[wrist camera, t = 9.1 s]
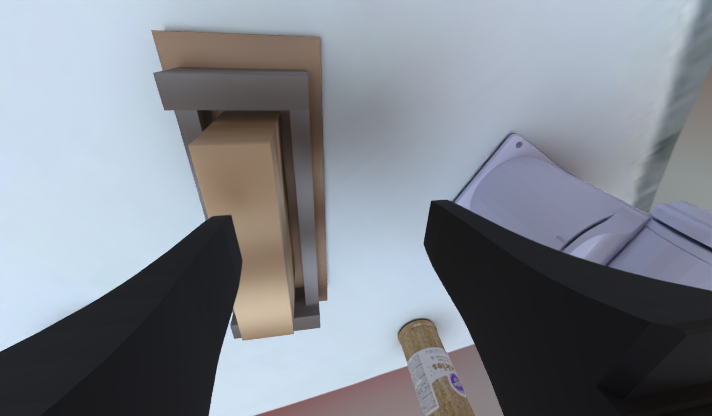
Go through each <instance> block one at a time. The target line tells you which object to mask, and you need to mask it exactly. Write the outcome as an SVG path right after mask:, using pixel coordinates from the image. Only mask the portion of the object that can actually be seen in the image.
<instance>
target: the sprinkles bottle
mask: <svg viewBox="0 0 712 416" xmlns="http://www.w3.org/2000/svg"><path fill="white" fill-rule="evenodd" d="M398 339H399V342H400V344H401V345H402V348H403V351H404V354H405V357H406V361H407V364H408V369H409V372H410V375H411V378H412V381H413V384H414V387H415V390H416V393H417V396H418V399H419V402H420V405H421V408H422V411H423V415H424V416H475V415H474V412H473V410H472V408H471V406H470V404H469V402H468V400H467V397H466V393H465V391H464V389H463V387H462V384H461V382H460V380H459V378H458V376H457V373H456V371H455V369H454V367H453V365H452V363H451V360H450V358H449V356H448V354H447V352H446V351H445V349H444V347H443V344H442V342H441V340H440V338H439V336H438V333H437V329H436V327H435V325H434V324H433V323H432V322H430V321H427V320H417V321H414V322H411V323H409V324H407V325H406V326H405V327H404V328H403V329H402V330H401V331H400V333H399V335H398Z"/></svg>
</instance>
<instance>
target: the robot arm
mask: <svg viewBox="0 0 712 416" xmlns="http://www.w3.org/2000/svg"><path fill="white" fill-rule="evenodd" d="M518 142H519V144H518V145H517V146H516V144H517V143H518ZM424 246H425V249H426V252H427V254H428V257H429V259H430V262H431V264H432V266H433V268H434V270H435V272H436V273H437V275H438V277H439V279H440V280H441V282H442V284H443V286H444V287H445V289H446V291H447V292H448V294H449V296H450V297H451V299H452V301H453V303H454V304H455V306H456V308H457V309H458V311H459V313H460V315H461V316H462V318H463V320H464V322H465V324H466V326H467V328H468V330H469V332H470V335H471V337H472V339H473V341H474V343H475V345H476V348H477V350H478V352H479V354H480V357H481V359H482V362H483V364H484V367H485V369H486V371H487V374H488V376H489V378H490V381H491V383H492V386H493V388H494V391H495V394H496V396H497V399H498V401H499V404H500V407H501V409H502V412H503V414H504V416H712V212H711V211H709V210H706V209H703V208H701V207H698V206H695V205H693V204H690V203H687V202H682V201H681V202H675V203H670V204H664V203H661V204H658V205H656V207H655V208H654V210H653V211H652V212H651V213H648V212H645V211H641V210H639V209H637V208H635V207H633V206H631V205H629V204H627V203H625V202H623V201H621V200H619V199H618V198H616V197H614V196H612V195H610V194H608V193H606V192H604V191H602V190H600V189H598V188H596V187H594V186H592V185H590V184H588V183H586V182H584V181H582V180H580V179H578V178H576V177H574V176H572V175H570V174H568V173H566V172H565V171H564V170H562V169H561V168H560V167H559V166H557V165H556V164H555V163H554V162H552V161H551V160H550V159H549V158H547V157H546V156H545V155H544V154H542V153H541V152H540V151H538V150H537V149H536V148H535V147H533V146H532V145H531V144H530V143H528V142H527V141H526V140H525V139H523V138H522V137H521V136H519V135H517V134H512V135H510V136H509V137H508V138H507V139H506V140H505V142H504V143H503V144H502V145H501V146H500V148H499V149H498V150H497V151H496V152H495V154H494V155H493V156H492V157H491V158H490V160H489V161H488V162H487V163H486V165H485V166H484V167H483V168H482V169H481V171H480V172H479V173H478V174H477V175H476V177H475V178H474V179H473V180H472V181H471V183H470V184H469V185H468V186H467V187H466V189H465V190H464V191H463V192H462V193H461V195H460V196H459V197H458V198H457V199H456V201H455V202H454V203H453V202H451V201H448V200H435V201H431V205H430V210H429V216H428V221H427V227H426V233H425V238H424ZM242 262H243V260H242V256H241V252H240V248H239V244H238V240H237V236H236V232H235V228H234V224H233V220H232V216H231V215H221V216H212V217H210V218H209V219H207V220H206V221H205V222H204V223H202V224H201V225H200V226H199V227H197V228H196V229H195V230H194V231H192V232H191V233H190V234H189V235H187V236H186V237H185V238H184V239H183V240H181V241H180V242H179V243H178V244H176V245H175V246H174V247H173V248H171V249H170V250H169V251H167V252H166V253H165V254H163V255H162V256H161V257H159V258H158V259H157V260H155V261H154V262H153V263H151V264H150V265H148V266H147V267H146V268H144V269H143V270H142V271H140V272H139V273H138V274H136V275H135V276H133V277H132V278H130V279H129V280H127V281H126V282H124V283H123V284H121V285H120V286H118V287H117V288H115V289H113V290H112V291H110V292H109V293H107V294H105V295H104V296H102V297H101V298H99V299H97V300H96V301H94V302H92V303H91V304H89V305H87V306H85V307H84V308H82V309H80V310H78V311H76V312H75V313H73V314H71V315H69V316H67V317H65V318H64V319H62V320H60V321H58V322H56V323H55V324H53V325H51V326H49V327H47V328H46V329H44V330H42V331H40V332H38V333H36V334H34V335H32V336H30V337H29V338H27V339H25V340H23V341H21V342H19V343H17V344H15V345H13V346H11V347H9V348H7V349H5V350H3V351H1V352H0V416H209V410H210V404H211V397H212V392H213V386H214V381H215V375H216V370H217V364H218V360H219V356H220V352H221V348H222V344H223V341H224V337H225V334H226V330H227V327H228V324H229V320H230V317H231V313H232V310H233V306H234V303H235V299H236V296H237V292H238V289H239V284H240V277H241V270H242Z"/></svg>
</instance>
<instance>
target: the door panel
mask: <svg viewBox="0 0 712 416" xmlns="http://www.w3.org/2000/svg"><path fill="white" fill-rule="evenodd" d="M188 147H189V151H190V154H191V158H192V162H193V165H194V169H195V172H196V176H197V179H198V183H199V187H200V190H201V194H202V197H203V201H204V204H205V208H206V212H207V215H208V219H209V218H210V217H212V216H221V215H231V216H232V220H233V224H234V228H235V232H236V236H237V240H238V244H239V248H240V252H241V256H242V260H243V262H242V270H241V277H240V284H239V289H238V292H237V296H236V299H235V303H234V306H233V308H234V312H235V315H236V319H237V322H238V326H239V330H240V333H241V337H242V340H251V339H259V338H266V337H274V336H282V335H290V334H294V293H295V262H294V252H293V243H292V233H291V223H290V213H289V203H288V193H287V183H286V174H285V164H284V154H283V144H282V134H281V124H280V115H279V111H224V112H223V113H221V114H220V115H219V116H218V117H217V118H216V119H215V120H214V121H213V122H212V123H211V124H210V125H209V126H208V127H207V128H206V129H205V130H204V131H203V132H202V133H201V134H200V135H199V136H198V137H197V138H196V139H195V140H194V141H192V142H191V143H190V144H189V145H188Z"/></svg>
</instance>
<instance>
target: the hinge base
mask: <svg viewBox="0 0 712 416" xmlns="http://www.w3.org/2000/svg"><path fill="white" fill-rule="evenodd" d="M151 31H152V34H153V38H154V41H155V45H156V48H157V52H158V55H159V59H160V62H161V66H162V69H163V71H160V72H156V73H153V74H154V78H155V81H156V84H157V87H158V91H159V94H160V97H161V100H162V104H163V107H164V110H174V111H175V114H176V118H177V121H178V125H179V128H180V132H181V135H182V139H183V142H184V146H185V149H186V153H187V156H188V159H189V163H190V166H191V170H192V173H193V177H194V180H195V184H196V187H197V191H198V194H199V198H200V201H201V204H202V208H203V211H204V215H205V218H206V220H207V219H208V215H207V212H206V208H205V204H204V201H203V197H202V194H201V190H200V187H199V183H198V179H197V176H196V172H195V169H194V165H193V162H192V158H191V154H190V151H189V147H188V145H189V144H190V143H191V142H192V141H194V140H195V139H196V138H197V137H198V136H199V135H200V134H201V133H202V132H203V131H204V130H205V129H206V128H207V127H208V126H209V125H210V124H211V123H212V122H213V121H214V120H215V119H216V118H217V117H218V116H219V115H220V114H221V113H223V112H224V111H279V115H280V124H281V134H282V144H283V154H284V164H285V174H286V183H287V193H288V203H289V213H290V223H291V233H292V243H293V252H294V262H295V293H294V331H298V330H306V329H313V328H320V313H319V301H326V300H327V269H326V232H325V196H324V160H323V123H322V87H321V51H320V37H305V36H280V35H255V34H230V33H205V32H180V31H156V30H151ZM232 312H233V317H232V321H231V329H232V333H233V336H234V339H236V338H242V337H241V333H240V330H239V326H238V322H237V319H236V315H235V312H234V308H233V310H232Z"/></svg>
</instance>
